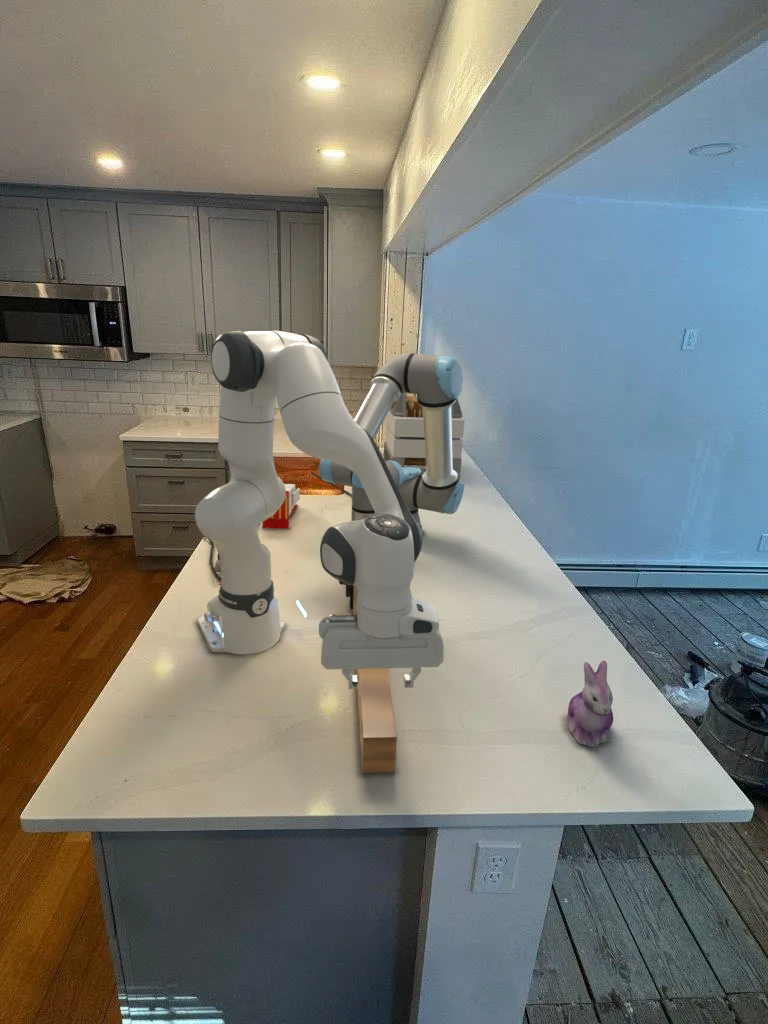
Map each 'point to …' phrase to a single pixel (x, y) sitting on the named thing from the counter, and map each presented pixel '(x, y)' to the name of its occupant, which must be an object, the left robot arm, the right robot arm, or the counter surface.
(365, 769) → the bar
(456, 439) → the slatted wooden crate
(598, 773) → the counter surface
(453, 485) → the right robot arm
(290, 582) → the counter surface
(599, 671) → the figurine
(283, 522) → the toy
